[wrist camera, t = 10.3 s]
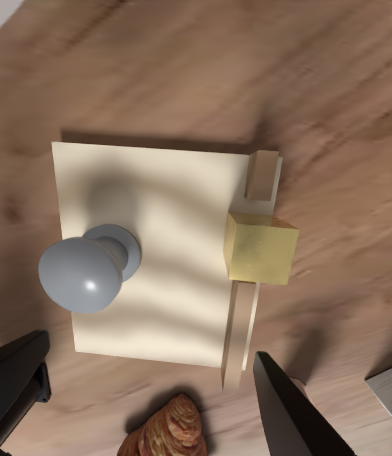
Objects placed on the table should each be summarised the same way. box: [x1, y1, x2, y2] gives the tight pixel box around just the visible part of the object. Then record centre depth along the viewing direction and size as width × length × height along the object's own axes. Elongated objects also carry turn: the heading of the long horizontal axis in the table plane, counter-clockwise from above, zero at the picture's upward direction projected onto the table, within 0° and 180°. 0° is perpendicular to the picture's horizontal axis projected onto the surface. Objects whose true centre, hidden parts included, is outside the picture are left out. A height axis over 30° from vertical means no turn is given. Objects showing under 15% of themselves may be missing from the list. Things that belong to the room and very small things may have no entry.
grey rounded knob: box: [38, 224, 142, 314], centre depth 16 cm, size 6×6×5 cm
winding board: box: [52, 142, 283, 394], centre depth 18 cm, size 23×20×4 cm
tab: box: [223, 212, 300, 285], centre depth 15 cm, size 4×4×5 cm
